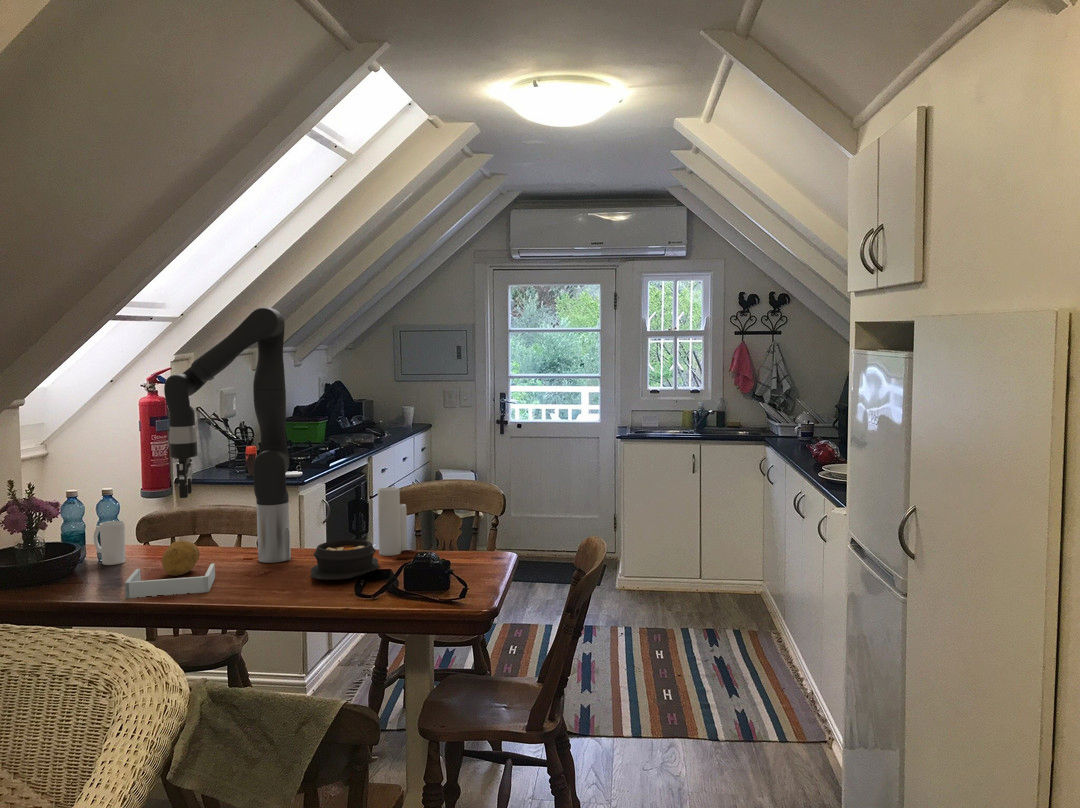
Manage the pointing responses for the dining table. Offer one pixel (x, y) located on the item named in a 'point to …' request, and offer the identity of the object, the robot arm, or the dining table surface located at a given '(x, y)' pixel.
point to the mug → (111, 542)
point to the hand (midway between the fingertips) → (185, 495)
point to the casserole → (344, 559)
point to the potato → (180, 558)
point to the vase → (391, 522)
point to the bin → (168, 585)
